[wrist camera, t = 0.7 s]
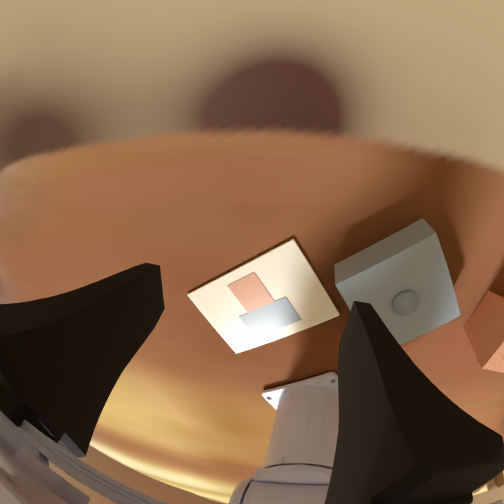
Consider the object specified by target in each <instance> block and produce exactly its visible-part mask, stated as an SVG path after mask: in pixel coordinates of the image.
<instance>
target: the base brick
mask: <svg viewBox="0 0 504 504" xmlns="http://www.w3.org/2000/svg"><path fill="white" fill-rule="evenodd" d="M334 272H335V285H336V287H337V289H338V290H339V292H340V294H341V295H342V297H343V299H344V301H345V302H346V304H347V306H348V307H349V309H350V311H351V308H352V305H353V302H354V301H359V302H365V303H370V304H371V305H372V306H373V308H374V309H375V310H376V312H377V313H378V315H379V316H380V318H381V319H382V321H383V322H384V324H385V325H386V327H387V328H388V329H389V331H390V332H391V334H392V335H393V336H394V338H395V339H396V341H397V342H398V343H399V345H401V344H404V343H406V342H408V341H410V340H412V339H415V338H417V337H419V336H421V335H423V334H425V333H427V332H429V331H431V330H433V329H435V328H437V327H439V326H441V325H443V324H445V323H447V322H449V321H451V320H453V319H455V318H457V317H458V316H460V312H459V308H458V303H457V299H456V295H455V291H454V288H453V284H452V280H451V277H450V273H449V270H448V267H447V263H446V260H445V257H444V254H443V251H442V248H441V245H440V242H439V239H438V237H437V234H436V232H435V231H434V230H433V229H432V228H431V227H430V225H429V224H428V223H427V222H426V221H425V220H424V219H423V218H422V219H420V220H418V221H416V222H414V223H413V224H411V225H409V226H407V227H405V228H403V229H402V230H400V231H398V232H396V233H394V234H392V235H390V236H388V237H387V238H385V239H383V240H381V241H379V242H377V243H375V244H373V245H371V246H369V247H368V248H366V249H364V250H362V251H360V252H358V253H356V254H354V255H352V256H350V257H348V258H346V259H344V260H342V261H340V262H338V263H336V264H334Z"/></svg>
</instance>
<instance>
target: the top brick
mask: <svg viewBox="0 0 504 504" xmlns="http://www.w3.org/2000/svg"><path fill="white" fill-rule="evenodd" d="M464 330H465V332H466V334H467V336H468V338H469V340H470V342H471V345H472V347H473V349H474V351H475V353H476V356H477V358H478V360H479V363H480V365H481V367H482V369H487V370H492V371H497V372H502V373H504V297H501V296H499V295H497V294H495V293H493V292H491V291H488V292H487V293H486V295H485V296H484V298H483V300H482V301H481V303H480V304H479V306H478V308H477V309H476V311H475V312H474V314H473V315H472V317H471V318H470V320H469V321H468V322H467V324H466V325H465V327H464Z"/></svg>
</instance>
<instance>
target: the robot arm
mask: <svg viewBox="0 0 504 504" xmlns="http://www.w3.org/2000/svg"><path fill="white" fill-rule="evenodd" d="M164 309H165V308H164V300H163V291H162V282H161V272H160V265H155V264H150V263H144V264H141V265H138V266H135V267H132V268H130V269H127V270H124V271H122V272H120V273H117V274H115V275H112V276H110V277H107V278H105V279H102V280H100V281H97V282H95V283H92V284H89V285H87V286H84V287H81V288H79V289H76V290H73V291H70V292H67V293H63V294H60V295H56V296H52V297H48V298H43V299H38V300H33V301H28V302H21V303H12V304H0V504H88V502H89V500H90V497H89V496H87V495H86V494H85V493H83V492H81V491H80V490H79V489H77V488H76V487H74V486H73V485H72V484H70V483H69V482H67V481H66V480H65V479H64V478H62V477H61V476H60V475H58V474H57V473H56V472H54V471H53V470H52V469H51V468H49V462H48V460H49V461H50V462H51V463H53V464H54V465H56V466H57V467H58V468H60V469H61V470H62V471H64V472H65V473H67V474H68V475H70V476H71V477H73V478H74V479H76V480H77V481H79V482H80V483H82V484H83V485H85V486H87V487H88V488H90V489H91V490H93V491H95V492H97V493H98V494H100V495H102V496H104V497H105V498H107V499H109V500H111V501H113V502H114V503H116V504H168V503H165V502H163V501H160V500H157V499H155V498H153V497H150V496H148V495H146V494H144V493H141V492H139V491H137V490H135V489H132V488H131V487H128V486H126V485H124V484H122V483H120V482H118V481H116V480H115V479H113V478H111V477H109V476H107V475H105V474H103V473H102V472H100V471H98V470H96V469H95V468H93V467H91V466H89V465H88V464H86V463H84V462H83V461H81V460H80V459H78V458H77V457H84V456H86V453H87V450H88V447H89V444H90V441H91V438H92V435H93V432H94V429H95V426H96V424H97V422H98V419H99V417H100V414H101V412H102V410H103V407H104V405H105V403H106V401H107V399H108V397H109V395H110V393H111V391H112V389H113V387H114V385H115V384H116V382H117V380H118V378H119V376H120V375H121V373H122V372H123V370H124V369H125V367H126V366H127V364H128V363H129V362H130V360H131V359H132V358H133V356H134V355H135V353H136V352H137V351H138V349H139V348H140V347H141V345H142V344H143V343H144V341H145V340H146V339H147V337H148V336H149V335H150V333H151V332H152V330H153V329H154V327H155V326H156V324H157V322H158V320H159V318H160V316H161V314H162V313H163V311H164ZM262 396H263V397H264V398H265V399H266V400H267V401H268V402H269V403H270V404H271V405H272V406H273V407H274V408H275V409H276V410H277V411H276V415H275V420H274V424H273V428H272V433H271V437H270V441H269V445H268V449H267V453H266V457H265V461H264V465H263V468H256V471H255V474H254V477H247V478H245V479H244V480H243V481H242V482H240V483H239V484H238V485H237V486H236V488H235V489H234V491H233V493H232V496H231V498H230V501H229V504H470V503H472V501H473V496H472V492H474V491H475V490H477V489H478V488H480V487H481V486H483V485H484V484H486V483H487V482H489V481H490V480H492V479H493V478H494V477H496V476H497V475H498V474H500V473H501V472H502V471H503V469H504V442H503V438H502V436H501V435H500V434H498V433H496V432H495V431H493V430H491V429H490V428H488V427H486V426H485V425H483V424H482V423H480V422H478V421H477V420H475V419H474V418H473V417H471V416H470V415H469V414H467V413H466V412H465V411H463V410H462V409H461V408H459V407H458V406H457V405H456V404H455V403H453V402H452V401H451V400H450V399H449V398H448V397H447V396H445V395H444V394H443V393H442V392H441V391H440V390H439V389H438V388H437V387H436V386H435V385H434V384H433V383H432V382H431V381H430V380H429V379H428V378H427V377H426V376H425V375H424V374H423V373H422V372H421V371H420V369H419V368H418V367H417V366H416V365H415V364H414V362H413V361H412V360H411V359H410V357H409V356H408V355H407V354H406V352H405V351H404V350H403V349H402V347H401V346H400V345H399V343H398V342H397V341H396V339H395V338H394V336H393V335H392V334H391V332H390V331H389V329H388V328H387V327H386V325H385V324H384V322H383V321H382V319H381V318H380V316H379V315H378V313H377V312H376V310H375V309H374V308H373V306H372V305H371V304H370V303H365V302H359V301H354V302H353V305H352V308H351V311H350V314H349V318H348V321H347V324H346V327H345V330H344V333H343V336H342V338H341V341H340V345H339V357H338V376H337V374H336V373H334V372H328V373H325V374H322V375H319V376H316V377H312V378H309V379H305V380H302V381H298V382H295V383H291V384H287V385H284V386H280V387H276V388H272V389H268V390H264V391H263V392H262ZM49 438H50V439H49ZM52 440H53V441H54V442H53V441H52ZM56 443H57V444H56ZM59 445H60V446H61V447H60V446H59ZM63 448H64V449H63ZM66 450H67V451H66ZM69 452H70V453H69ZM72 454H73V455H72ZM75 456H76V457H75ZM491 504H503V500H499V501H496V502H494V503H491Z"/></svg>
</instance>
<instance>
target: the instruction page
mask: <svg viewBox="0 0 504 504" xmlns="http://www.w3.org/2000/svg"><path fill="white" fill-rule="evenodd" d="M188 297H189V298H190V299H191V300H192V302H193V303H194V304H195V305H196V307H197V308H198V309H199V310H200V311H201V313H202V314H203V315H204V316H205V317H206V319H207V320H208V321H209V322H210V324H211V325H212V326H213V327H214V328H215V329H216V331H217V332H218V333H219V334H220V335H221V337H222V338H223V339H224V340H225V341H226V342H227V343H228V345H229V346H230V347H231V348H232V349H233V350H234V351H235V353H239V352H242V351H246V350H249V349H252V348H255V347H258V346H261V345H263V344H266V343H269V342H272V341H275V340H278V339H280V338H283V337H286V336H289V335H291V334H294V333H297V332H299V331H302V330H305V329H307V328H310V327H312V326H315V325H317V324H320V323H323V322H325V321H327V320H330V319H332V318H335V317H337V316H340V313H339V311H338V310H337V308H336V306H335V305H334V303H333V301H332V300H331V298H330V296H329V295H328V293H327V291H326V290H325V288H324V287H323V285H322V283H321V282H320V280H319V278H318V277H317V275H316V273H315V272H314V270H313V269H312V267H311V265H310V264H309V262H308V261H307V259H306V257H305V256H304V254H303V253H302V251H301V249H300V248H299V246H298V245H297V243H296V241H295V240H294V238H293V239H292V240H290V241H288V242H286V243H284V244H282V245H280V246H278V247H276V248H275V249H273V250H271V251H269V252H267V253H265V254H263V255H261V256H259V257H257V258H256V259H254V260H252V261H250V262H248V263H246V264H244V265H242V266H240V267H238V268H237V269H235V270H233V271H231V272H229V273H227V274H225V275H223V276H221V277H219V278H217V279H216V280H214V281H212V282H210V283H208V284H206V285H204V286H202V287H200V288H198V289H196V290H194V291H192V292H191V293H189V294H188Z"/></svg>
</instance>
